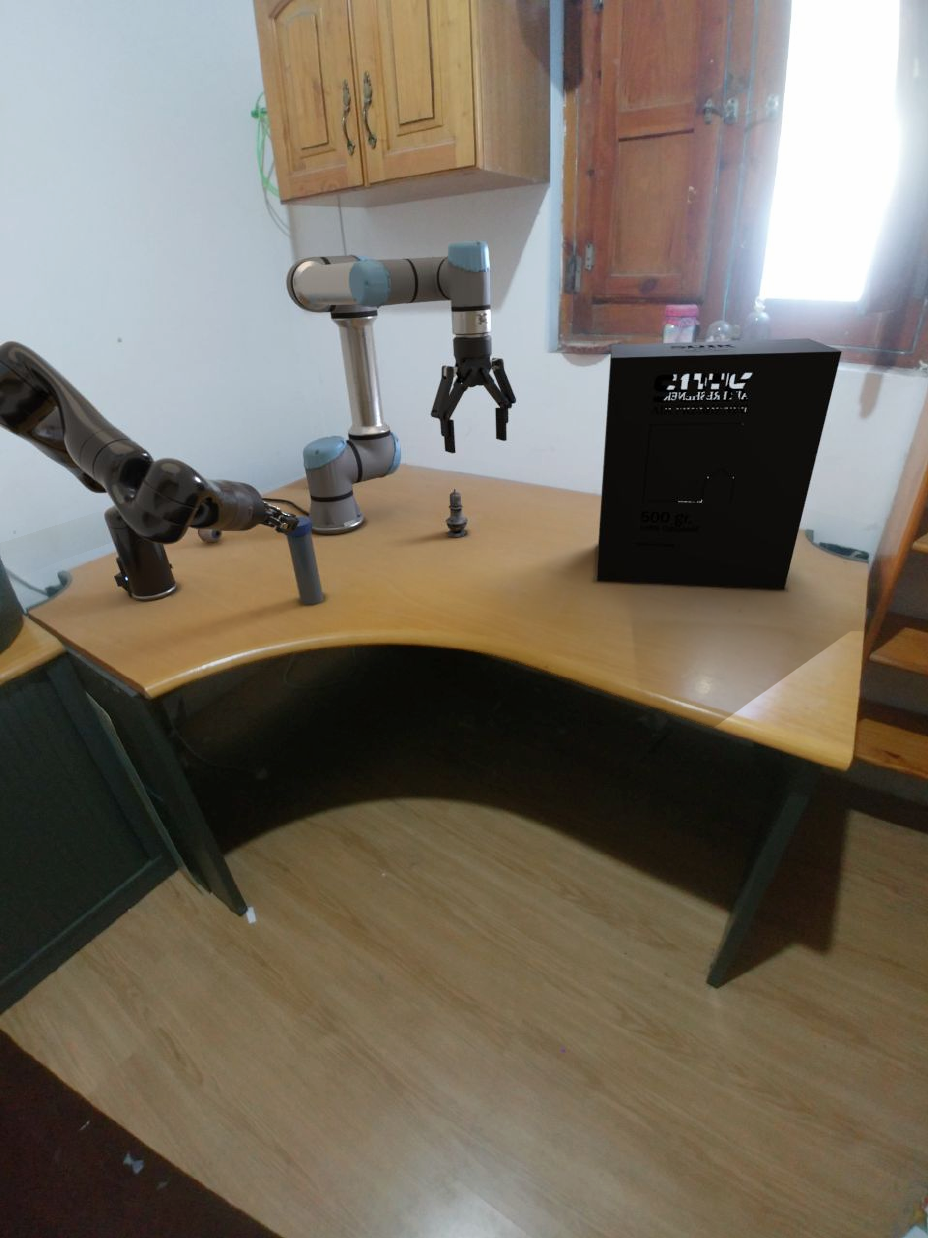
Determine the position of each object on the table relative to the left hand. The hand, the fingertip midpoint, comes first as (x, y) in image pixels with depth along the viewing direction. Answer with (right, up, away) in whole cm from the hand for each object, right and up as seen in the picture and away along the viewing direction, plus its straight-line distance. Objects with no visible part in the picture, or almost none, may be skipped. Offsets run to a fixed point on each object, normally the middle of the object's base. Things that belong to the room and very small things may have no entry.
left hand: (270, 509), depth 107 cm
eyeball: (-34, +1, +56) cm, 65 cm away
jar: (+1, -15, +24) cm, 29 cm away
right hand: (+37, +17, +20) cm, 46 cm away
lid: (0, 0, +15) cm, 15 cm away
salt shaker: (+33, +3, +53) cm, 62 cm away
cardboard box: (+84, -7, +29) cm, 89 cm away
